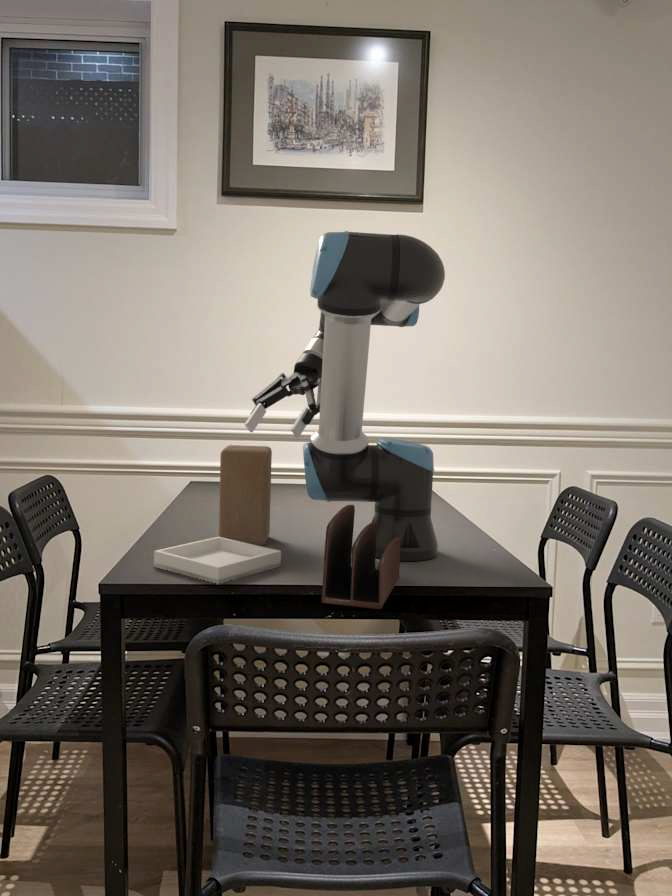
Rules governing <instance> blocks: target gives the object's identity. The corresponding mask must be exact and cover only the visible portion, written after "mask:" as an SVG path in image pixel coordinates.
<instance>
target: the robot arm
mask: <svg viewBox="0 0 672 896" xmlns="http://www.w3.org/2000/svg"><path fill="white" fill-rule="evenodd" d="M316 246H317V247H316V250H315V255H314V260H313V264H312V265H313V266H312V271H311V272H312V274H311V280H310V288H309V291H310V292H309V294H310V297H312V298H314V299H315V300H317V309H318V310H319V311H320V318H319V325H318V326H319V327H318V330H317V331H316V333H315V334H314V335H313V337H312V339H311V340H310V342H309V343H308V344H307V346H306V347H305V349H304V350H303V352H302V354H301V355H300V356H299V358H298V360H296V362H295V364H294V366H293V367H294V368H293V372H292V373H291V375H289V376H288V375H285V372H281V373H280V374H279V375H278V376H277V378H275V379H274V381H272V382H271V383H270V384H269V385H267V386H266V387H265V388H263V389H262V390H261V391H259V392H258V393H257V394H255V395H254V397H253V398H252V399H251V401H252V402H253V403H254V405H255V406H254V407H253V408H252V411H251V412H250V415H249V416H248V418H247V420H246V421H245V423H244V426H245V427H246V429H247V430H248V431H249V433H254V431H255V430H256V428H257V427H258V425H259V423H261V421H262V419H263V418H264V416H265V415H266V414H267V409H268V408H269V407H272V406H273V405H275V404H276V403H278V402H279V401H281V400H283V399H285V398H287V397H291V396H293V395H295V396H296V395H301V396H305V398H306V401H307V404H306V405H307V406H305V407H303V409H302V410H301V413H299V415H298V417H297V418H296V420H295V422H294V423H293V425H292V426H291V427H290V431H291V432H292V435H294V437H295V438H297V439H298V438H300V437H301V435H302V433H303V431H304V430H305V428H306V427H307V425H310V423H311V422H312V421H313V419H314V418H315V416H317V415H318V414H319V416H318V417H319V419H318V428H317V429H316V430H315V431H314V432H312V433H311V434H310V442H306V443H303V445H302V455H303V457H302V458H303V465H304V467H303V469H304V477H305V487H306V492H307V495H308V497H309V499H312V500H314V501H326V502H328V503H331V502H358V503H359V502H360V503H361V502H362V503H367V502H368V503H374V513H373V517H372V519H371V522H376V523H377V537H376V558H377V559H378V558H379V559H381V557H382V555H383V553H384V551H385V549H386V547H387V546H388V544H389V543H390V542H391V540H392V539H394V538H395V537H399V538H400V562H417V561H427V560H431V559H434V558H436V557H437V556H438V549H439V545H438V540H437V536H436V532H435V528H434V525H433V521H432V503H433V502H432V497H433V479H434V477H433V476H434V472H435V468H434V467H435V465H434V452H433V450H432V448H431V447H430V446H429V447H428V446H427V445H424V444H422V443H417V442H412V441H407V440H403V439H402V440H401V439H397V438H389V437H388V438H385V437H379V438H378V439H377V441H376V444H374V445H373V444H369V438H368V436H367V435H366V434H365V433H364V432H363V421H364V411H365V410H364V409H365V408H364V407H365V398H366V396H365V395H366V387H367V386H366V385H367V375H368V373H367V372H368V364H369V363H368V362H369V360H368V359H369V352H370V351H369V349H370V337H371V326H383V327H384V326H385V327H399V328H404V327H415V326H416V324H417V323H418V319H419V315H420V305H422V304H427V303H428V302H430V301H431V300H433V299H434V298H435V297H436V296H437V295H438V294H439V293H440V291H441V290H442V288H443V285H444V282H445V279H446V278H445V277H446V276H445V275H446V271H445V266H444V263H443V260H442V259H441V257H440V255H439V253H437V251H435V249H433V248H432V246H430V245H429V244H428V243H426V242H424V241H422V240H421V239H420V238H416V237H415V236H411V235H407V234H398V233H397V234H390V233H389V234H388V233H374V232H373V233H372V232H355V231H348V230H346V231H345V230H344V231H330V232H329V231H328V232H325V233H323V234H322V235H321V236H320V238H319V239H318V243H317V245H316ZM287 387H288V389H289V390H288V389H287ZM315 388H317V393H316V398H315V391H314V389H315Z"/></svg>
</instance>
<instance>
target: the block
mask: <svg viewBox="0 0 672 896" xmlns="http://www.w3.org/2000/svg"><path fill="white" fill-rule="evenodd" d="M272 453H273V451H272V448H271V447H269V446H267V445H264V446H263V445H232V444H229V445H227V446H226V447H225V448H223V449H222V450H221V452H220V459H219V461H220V464H219V465H220V466H219V471H220V473H219V509H218V510H219V515H218V517H219V519H218V537H222V538H227V539H231V540H235V541H240V542H244V543H249V544H253V545H257V546H265V545H266V544H267V541H268V538H269V535H270V532H271V531H270V529H271V528H270V527H271V525H270V524H271V523H270V522H271V498H272V497H271V495H272V493H271V492H272V490H271V489H272V460H273V459H272V456H273V454H272Z"/></svg>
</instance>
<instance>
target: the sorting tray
mask: <svg viewBox="0 0 672 896" xmlns="http://www.w3.org/2000/svg"><path fill="white" fill-rule="evenodd" d="M281 561H282V551H281V550H279V549H274V548H271V547H265V546H263V545H253V544H249V543H244V542H240V541H235V540H231V539H227V538H222V537H219V536H215V537H210V538H207V539H201V540H197V541H192V542H188V543H187V542H186V543H183V544H179V545H175V546H169V547H166V548H162V549H157V550H153V567H154V568H157V569H161V570H164V571H167V570H168V572H172V573H175V574H178V573H180V574H179V575H182V574H183V575H182V576H185V575H186V577H189V576H190V578H193V577H194V578H193V579H196V578H198V579H197V580H200V579H201V580H200V581H203V580H205V581H204V582H207V581H209V582H208V583H211V582H212V583H211V584H214V583H216V584H215V585H221V584H224V583H223V582H225V583H228V582H231V581H230V580H232V581H236V580H238V578H239V579H241V578H242V579H243V578H246V577H248V576H252V575H256V574H259V573H263V572H267V571H269V570H273V569H277V568H280V567H281V563H282V562H281ZM245 576H246V577H245ZM227 581H228V582H227ZM220 583H221V584H220Z"/></svg>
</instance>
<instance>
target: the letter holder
mask: <svg viewBox="0 0 672 896" xmlns="http://www.w3.org/2000/svg"><path fill="white" fill-rule="evenodd" d="M355 512H356V510H355V505H354V504H347V505H345V506H343V507H342V508H341V509H339V511H337V513H336V514H335V515H333V516H332V518H331V519H330V521H329V522H328V523H327V526H326V531H325V542H324V552H323V553H324V556H323V570H322V571H323V572H322V586H321V587H322V588H321V589H322V590H321V591H322V592H321V599H320V600H321V603H322V604H326V605H335V606H336V605H337V606H344V607H345V606H346V607H353V608H364V609H373V610H381V609H383V606H384V604H385V603H386V602H387V600H388V597H389V596H390V594H391V593H392V591H393V589H394V587H395V586H396V584H397V582H398V581H399V579H400V577H401V575H400V574H401V573H400V569H401V565H400V564H401V563H400V562H401V561H400V538H399V537H395V538H394V539H392V540H391V542H390V543H389V544H388V546H387V547H386V549H385V551H384V553H383V555H382V557H381V558H379V561H378V564H377V565H378V567H377V569H376V558H377V557H376V537H377V523H376V522H372V521H371V522H370V523H368V524H367V525H366V526H364V528H363V529H362V530H361V531H360V533H359V534H358V535H357V538H356V539H355V541H354V539H353V537H354V526H355ZM353 541H354V542H353Z"/></svg>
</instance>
